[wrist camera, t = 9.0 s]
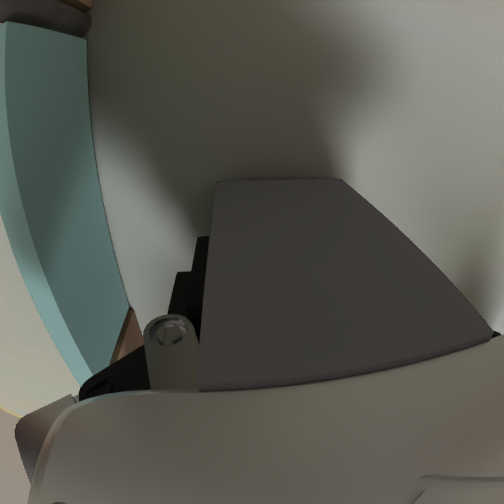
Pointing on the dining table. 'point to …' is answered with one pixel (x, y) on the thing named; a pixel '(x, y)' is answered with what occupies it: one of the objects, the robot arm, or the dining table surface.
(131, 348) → the brown wooden block
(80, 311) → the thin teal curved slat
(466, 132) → the dining table surface
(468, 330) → the doorstop block
